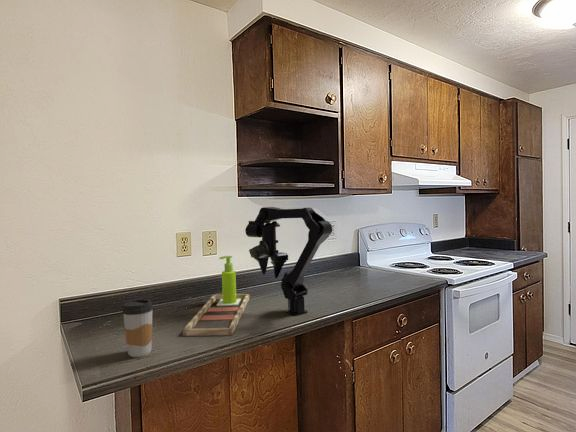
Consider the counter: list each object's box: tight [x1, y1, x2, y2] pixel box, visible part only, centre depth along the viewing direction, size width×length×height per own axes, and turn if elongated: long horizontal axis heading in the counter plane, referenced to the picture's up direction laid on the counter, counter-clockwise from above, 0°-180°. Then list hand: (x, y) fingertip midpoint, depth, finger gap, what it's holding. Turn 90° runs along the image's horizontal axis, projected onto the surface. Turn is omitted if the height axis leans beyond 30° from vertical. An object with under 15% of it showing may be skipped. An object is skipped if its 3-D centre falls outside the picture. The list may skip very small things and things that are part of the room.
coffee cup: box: [121, 298, 154, 358], centre depth 105 cm, size 8×8×15 cm
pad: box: [216, 299, 242, 307], centre depth 156 cm, size 9×9×1 cm
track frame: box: [182, 293, 251, 337], centre depth 140 cm, size 44×16×2 cm, turn 179°
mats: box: [199, 306, 240, 321], centre depth 140 cm, size 15×13×1 cm
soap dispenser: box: [218, 255, 237, 304], centre depth 155 cm, size 6×7×20 cm
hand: (270, 276), depth 146 cm, fingers open, 9 cm apart
